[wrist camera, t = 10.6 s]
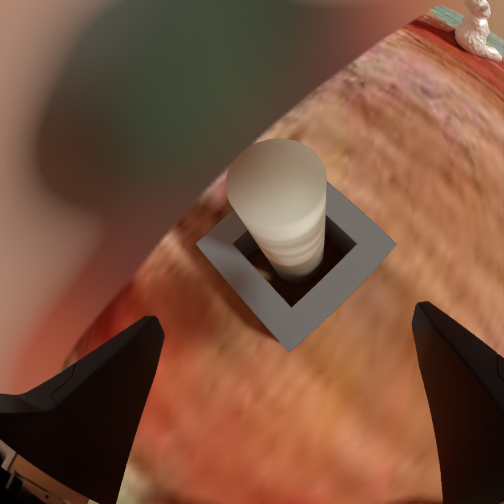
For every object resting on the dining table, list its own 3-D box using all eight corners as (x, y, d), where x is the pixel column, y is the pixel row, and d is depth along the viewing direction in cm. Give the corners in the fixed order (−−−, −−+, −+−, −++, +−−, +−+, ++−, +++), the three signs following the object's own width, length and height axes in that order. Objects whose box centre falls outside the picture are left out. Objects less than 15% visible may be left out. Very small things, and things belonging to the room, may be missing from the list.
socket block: (293, 348, 20) (288, 352, 17) (214, 258, 24) (195, 243, 20) (384, 259, 21) (397, 244, 17) (298, 181, 24) (294, 155, 21)
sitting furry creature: (501, 63, 23) (518, 15, 12) (480, 66, 24) (497, 10, 13) (464, 33, 26) (473, -14, 15) (439, 34, 27) (447, -20, 16)
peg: (310, 292, 21) (303, 241, 10) (265, 272, 23) (208, 205, 11) (330, 246, 22) (339, 153, 10) (285, 228, 23) (252, 130, 12)
